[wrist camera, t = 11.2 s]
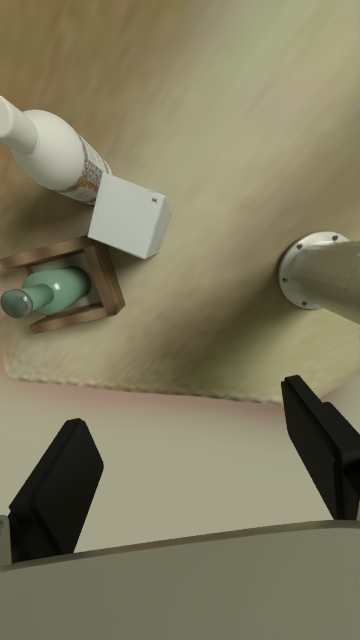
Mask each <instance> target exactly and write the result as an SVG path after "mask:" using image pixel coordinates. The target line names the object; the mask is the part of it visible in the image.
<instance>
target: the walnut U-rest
mask: <svg viewBox="0 0 360 640" xmlns="http://www.w3.org/2000/svg"><path fill="white" fill-rule="evenodd" d="M0 262H1V264H2V266H3V268H4V269H10V268H17V267H24V266H26V269H27V271H28V273H29V275H31V274H34V273H38V272H43V271H48V270H53V269H58V268H63V267H68V266H78V267H80V268H82V269H84V270H85V271H86V272H87V273H88V275H89V276H90V279H91V283H92V286H91V290H90V292H89V294H88V295H87V296H85V297H84V298H82V299H80V300H78V301H76V302H74V303H73V304H71V305H69V306H67V307H65V308H63V309H62V310H60V311H58V312H56V313H54V314H49V315H47V317H45V318H43V319H41V320H39V321H37V322H35V323H34V324H32V325H30V327H31V329H32V331H33V333H34V334H36V333H41V332H45V331H49V330H53V329H57V328H62V327H66V326H70V325H74V324H78V323H83V322H87V321H91V320H95V319H99V318H104V317H108V316H112V315H116V314H117V313H118V312H119V311H120V310H121V309H122V308H123V307H124V306H125V301H124V298H123V295H122V292H121V289H120V286H119V283H118V280H117V277H116V274H115V271H114V268H113V265H112V262H111V258H110V255H109V252H108V249H107V246H106V244H105V243H102V242H100V241H97V240H95V239H92V238H90V237H88V235H86V236H82V237H79V238H75V239H71V240H68V241H64V242H61V243H57V244H53V245H50V246H46V247H42V248H39V249H35V250H31V251H28V252H24V253H20V254H17V255H13V256H9V257H6V258H2V259H0Z"/></svg>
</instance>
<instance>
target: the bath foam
mask: <svg viewBox="0 0 360 640" xmlns="http://www.w3.org/2000/svg"><path fill="white" fill-rule="evenodd" d="M0 143H2V144H4V145H6V146H8V147H10V149H11V152H12V155H13V157H14V159H15V160H16V162H17V164H18V165H19V167H20V168H21V169H22V170H23V172H24V173H25V174H26V175H27V176H28V177H29V178H31V179H32V180H33V181H35V182H36V183H38V184H39V185H41V186H42V187H44V188H47V189H49V190H52V191H54V192H57V193H60V194H62V195H65V196H67V197H70V198H72V199H75V200H78V201H80V202H83V203H86V204H90V205H95V202H96V198H97V193H98V189H99V185H100V181H101V177H102V173H103V172H105V173H108V174H110V175H112V172H111V170H110V167H109V166H108V164H107V163H106V162H105V161H104V160H103V158H102V157H101V156H100V155H99V154H98V153H97V152H96V151H95V150H94V149H93V148H92V147H91V146H90V145H89V144H88V143H87V142H86V141H85V140H84V139H83V138H82V137H81V136H80V135H79V134H78V133H77V132H76V131H75V130H74V129H73V128H72V127H71V126H70V125H69V124H68V123H67V122H65V121H64V120H62V119H61V118H59V117H58V116H56V115H54V114H52V113H49V112H46V111H42V110H28V111H24V112H21V111H19V110H18V109H17V108H16V107H14V106H13V105H12V104H11V103H9V102H8V101H7V100H6V99H4V98H3V97H2V96H0Z"/></svg>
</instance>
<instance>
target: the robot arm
mask: <svg viewBox="0 0 360 640" xmlns="http://www.w3.org/2000/svg"><path fill="white" fill-rule="evenodd" d="M332 237H333V239H332ZM297 245H298V248H297ZM283 278H284V281H283ZM278 281H279V285H280V289H281V291H282V293H283V295H284V296H285V297H286V298H287V299H288V300H289V301H290V302H292V303H293V304H295V305H297V306H299V307H302V308H306V309H319V308H325V309H327V310H329V311H331V312H334V313H336V314H338V315H340V316H342V317H344V318H346V319H348V320H351V321H353V322H355V323H357V324H359V325H360V241H350V240H349V239H347V238H346V237H345V236H343V235H341V234H339V233H336V232H332V231H320V232H315V233H311V234H308V235H306V236H304V237H302V238H300V239H299V240H297V241H296V242H295V243H294V244H293V245H291V246H290V247H289V249H288V250H287V251H286V253H285V254H284V256H283V258H282V260H281V263H280V266H279V272H278ZM302 302H303V303H302ZM284 380H285V381H282V382H281V388H282V395H283V403H284V410H285V417H286V424H287V430H288V434H289V436H290V439H291V441H292V443H293V444H294V446H295V448H296V450H297V452H298V454H299V456H300V458H301V459H302V461H303V463H304V465H305V467H306V469H307V471H308V472H309V474H310V476H311V478H312V480H313V482H314V484H315V485H316V487H317V489H318V491H319V493H320V495H321V497H322V499H323V501H324V502H325V504H326V506H327V508H328V510H329V512H330V514H331V515H332V517H333V519H334V520H324V521H309V522H301V523H291V524H282V525H274V526H265V527H257V528H250V529H242V530H235V531H228V532H220V533H212V534H205V535H197V536H191V537H183V538H176V539H169V540H162V541H154V542H147V543H140V544H133V545H126V546H119V547H112V548H105V549H99V550H92V551H86V552H78V553H73V552H74V549H75V547H76V544H77V541H78V539H79V536H80V533H81V530H82V528H83V525H84V522H85V519H86V516H87V514H88V511H89V508H90V505H91V502H92V500H93V497H94V494H95V492H96V489H97V486H98V483H99V480H100V478H101V475H102V472H103V468H104V465H103V461H102V458H101V457H100V454H99V452H98V449H97V447H96V445H95V443H94V441H93V438H92V436H91V434H90V432H89V429H88V427H87V425H86V423H85V421H82V420H81V419H80V418H76V419H72V420H67V421H66V422H65V423H64V425H63V426H62V428H61V430H60V431H59V432H58V434H57V435H56V437H55V438H54V440H53V442H52V443H51V445H50V446H49V447H48V449H47V450H46V452H45V453H44V455H43V456H42V458H41V459H40V461H39V463H38V464H37V465H36V467H35V468H34V470H33V471H32V473H31V474H30V476H29V477H28V479H27V480H26V482H25V483H24V485H23V486H22V488H21V489H20V491H19V492H18V494H17V495H16V497H15V498H14V500H13V501H12V503H11V504H10V506H9V509H10V511H11V512H10V513H9V515H8V516H5V515H0V640H360V434H359V433H358V432H357V431H356V430H355V429H354V428H353V427H352V425H351V424H350V423H349V422H348V421H347V420H346V419H345V418H344V417H343V416H342V415H341V413H340V412H339V411H338V410H337V409H336V408H335V407H334V406H333V405H332V404H331V403H330V402H324V403H322V402H321V401H320V399H319V398H318V397H317V396H316V395H315V394H314V392H313V391H312V390H311V389H310V388H309V386H308V385H307V384H306V383H305V382H304V381H303V379H302V378H301V377H300V376H299V375H294V376H289V377H285V379H284Z"/></svg>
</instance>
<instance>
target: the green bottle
mask: <svg viewBox="0 0 360 640" xmlns="http://www.w3.org/2000/svg"><path fill="white" fill-rule="evenodd" d="M91 286H92V283H91V279H90V276H89V275H88V273H87V272H86V271H85V270H84V269H82V268H80V267H78V266H68V267H63V268H58V269H53V270H48V271H43V272H38V273H34V274H31V275H30V276H28V277H27V278H26V279H25V281H24V283H23V286H22V289H12V290H9V291H6V292H5V293H3V295H2V296H1V300H0V302H1V307H2V309H3V310H4V312H5V313H6V314H8V315H9V316H11V317H13V318H23V317H25V316H27V315H29V314H30V313H31V312H32V311H36V312H38V313H40V314H46V315H49V314H54V313H56V312H58V311H60V310H62V309H63V308H65V307H67V306H69V305H71V304H73V303H74V302H76V301H78V300H80V299H82V298H84V297H85V296H87V295H88V294H89V292H90V290H91Z"/></svg>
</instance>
